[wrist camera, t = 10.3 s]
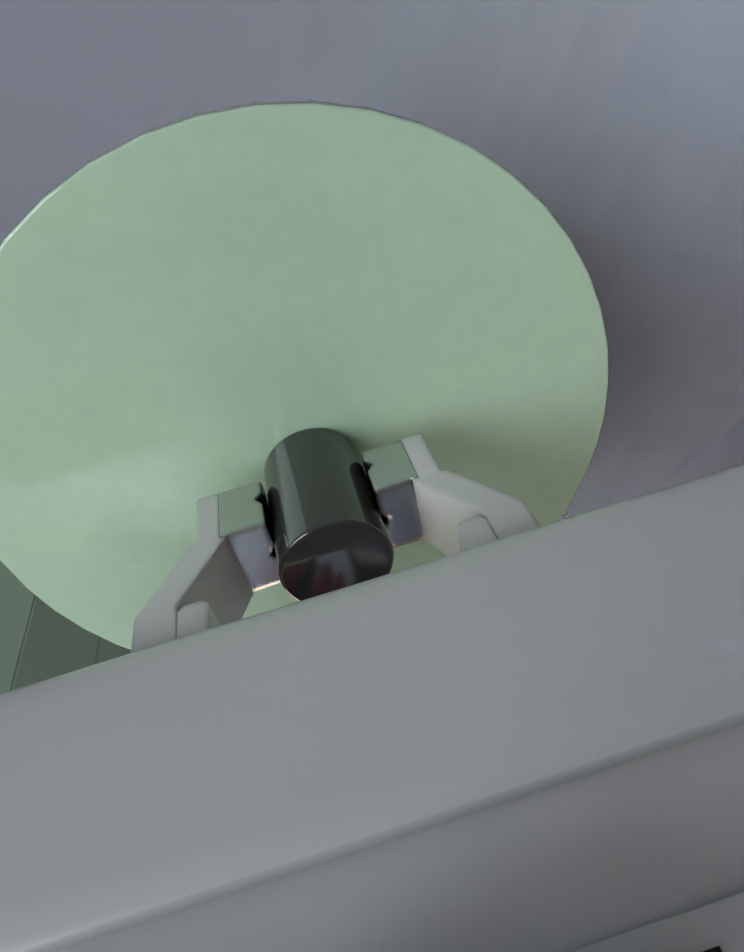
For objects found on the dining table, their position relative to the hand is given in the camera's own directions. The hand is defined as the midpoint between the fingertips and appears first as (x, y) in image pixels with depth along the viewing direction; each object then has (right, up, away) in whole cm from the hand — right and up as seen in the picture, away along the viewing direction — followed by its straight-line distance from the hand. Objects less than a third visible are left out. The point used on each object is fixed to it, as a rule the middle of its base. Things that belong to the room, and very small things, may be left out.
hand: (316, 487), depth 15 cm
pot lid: (0, +1, +1) cm, 1 cm away
